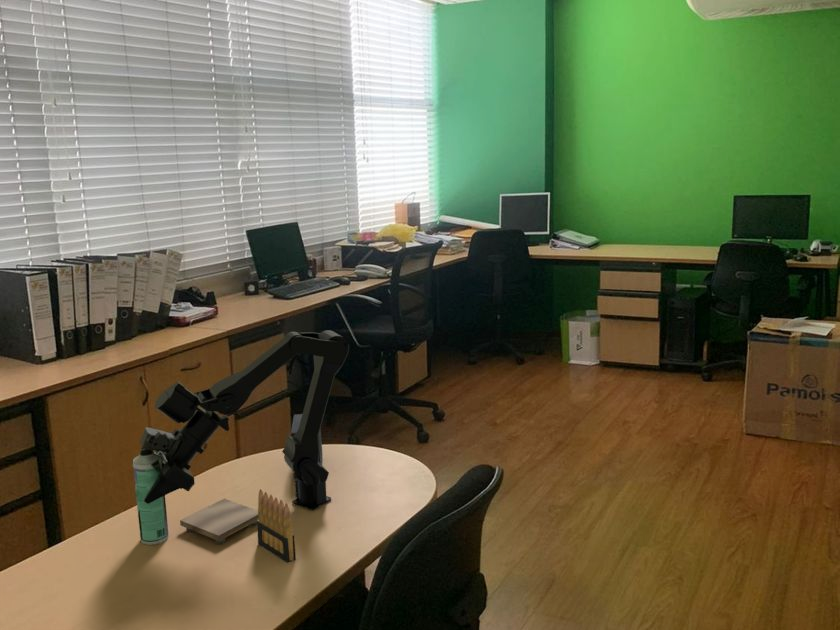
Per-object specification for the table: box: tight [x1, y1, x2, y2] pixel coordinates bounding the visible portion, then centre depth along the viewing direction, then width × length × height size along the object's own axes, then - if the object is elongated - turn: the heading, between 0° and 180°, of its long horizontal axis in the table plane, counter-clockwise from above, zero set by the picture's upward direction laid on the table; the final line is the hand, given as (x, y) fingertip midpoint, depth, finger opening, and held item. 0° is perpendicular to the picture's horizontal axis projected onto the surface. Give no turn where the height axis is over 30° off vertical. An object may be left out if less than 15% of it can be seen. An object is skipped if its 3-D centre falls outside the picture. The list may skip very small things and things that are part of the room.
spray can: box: [132, 446, 170, 546], centre depth 158 cm, size 6×6×20 cm
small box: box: [290, 413, 323, 479], centre depth 193 cm, size 13×7×12 cm, turn 6°
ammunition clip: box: [256, 488, 297, 564], centre depth 153 cm, size 11×2×12 cm, turn 44°
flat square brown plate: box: [179, 498, 259, 545], centre depth 164 cm, size 12×12×2 cm
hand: (143, 496), depth 158 cm, fingers closed on spray can, 5 cm apart
